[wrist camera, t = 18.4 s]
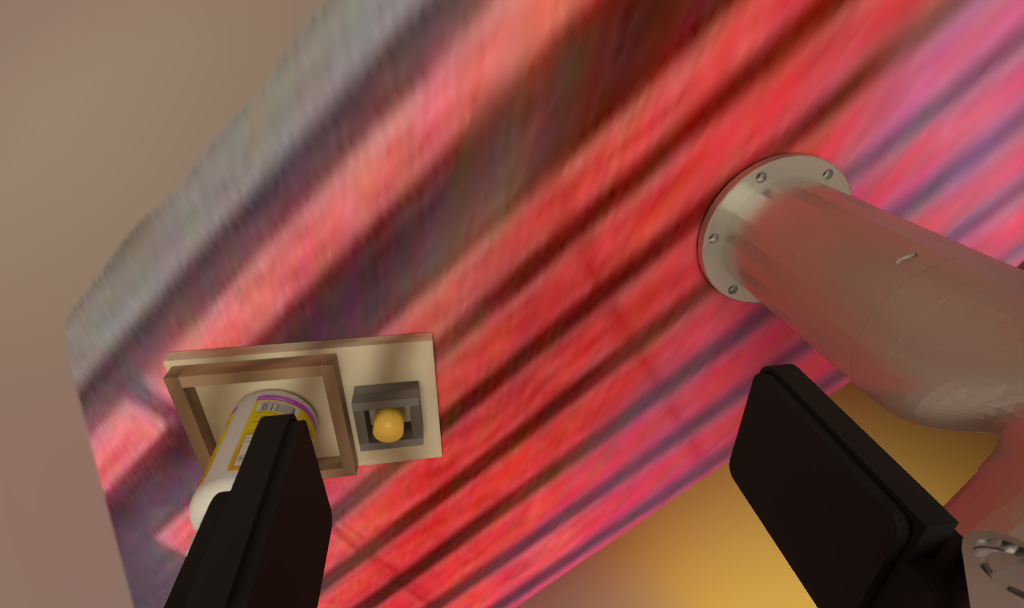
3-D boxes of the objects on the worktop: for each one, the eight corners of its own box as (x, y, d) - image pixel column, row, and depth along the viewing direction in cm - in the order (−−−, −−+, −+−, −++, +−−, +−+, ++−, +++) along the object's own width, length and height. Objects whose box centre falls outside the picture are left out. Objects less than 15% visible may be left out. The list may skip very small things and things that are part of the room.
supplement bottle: (262, 456, 44) (209, 605, 33) (215, 403, 41) (140, 548, 30) (334, 430, 44) (304, 571, 33) (293, 374, 41) (245, 510, 30)
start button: (403, 397, 43) (402, 418, 41) (405, 419, 44) (405, 441, 42) (373, 400, 43) (371, 422, 40) (377, 422, 44) (374, 444, 42)
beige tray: (432, 332, 42) (432, 356, 39) (441, 447, 49) (442, 475, 46) (169, 352, 39) (149, 379, 36) (216, 471, 46) (202, 502, 43)
